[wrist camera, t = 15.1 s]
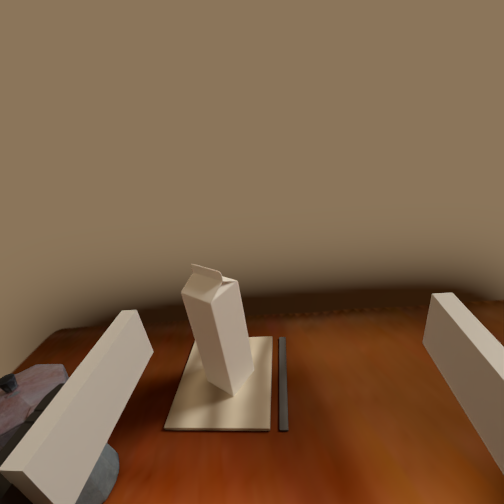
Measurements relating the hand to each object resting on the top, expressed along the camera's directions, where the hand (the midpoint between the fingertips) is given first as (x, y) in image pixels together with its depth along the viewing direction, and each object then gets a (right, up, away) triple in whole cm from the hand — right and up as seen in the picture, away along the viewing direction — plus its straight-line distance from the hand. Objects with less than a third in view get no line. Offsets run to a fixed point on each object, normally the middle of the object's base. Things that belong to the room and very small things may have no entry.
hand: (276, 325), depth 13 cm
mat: (-4, -19, +36) cm, 41 cm away
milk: (-5, -18, +36) cm, 40 cm away
